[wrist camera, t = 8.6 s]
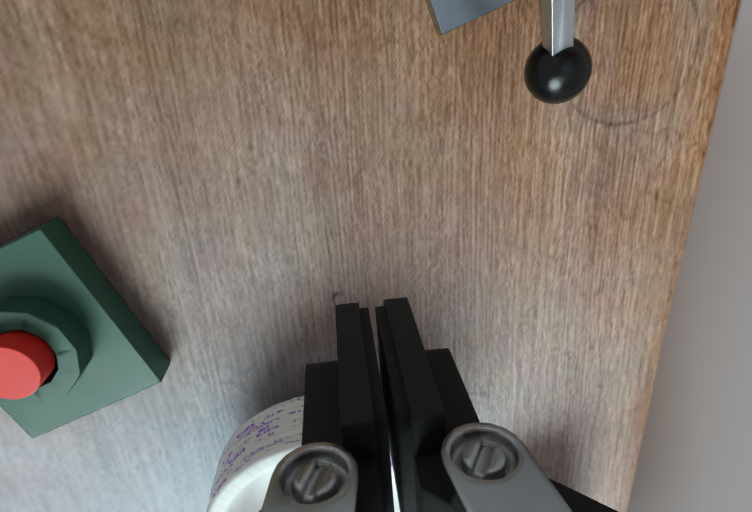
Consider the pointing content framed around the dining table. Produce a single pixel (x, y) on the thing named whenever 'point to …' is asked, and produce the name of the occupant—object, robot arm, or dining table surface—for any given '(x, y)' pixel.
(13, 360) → the button
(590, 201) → the dining table surface
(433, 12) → the tap bracket
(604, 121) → the dining table surface
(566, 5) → the tap lever
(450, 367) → the robot arm
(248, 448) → the paper bowls
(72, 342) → the button block
